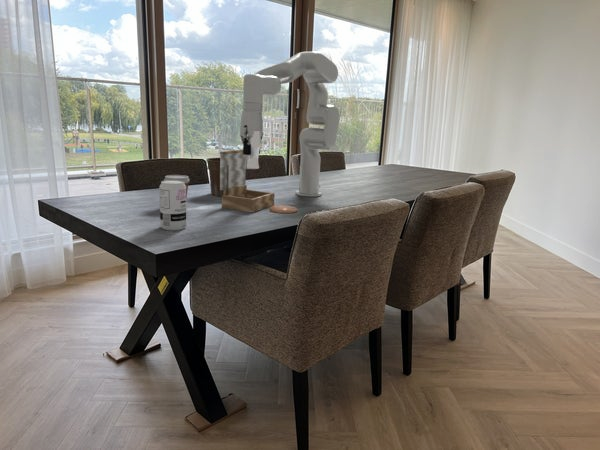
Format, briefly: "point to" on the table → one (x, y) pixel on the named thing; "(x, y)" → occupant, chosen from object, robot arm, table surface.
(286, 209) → the saucer
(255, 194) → the open wooden box
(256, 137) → the beer glass
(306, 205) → the table surface
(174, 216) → the supplement can
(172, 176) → the disposable coffee cup
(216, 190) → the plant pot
